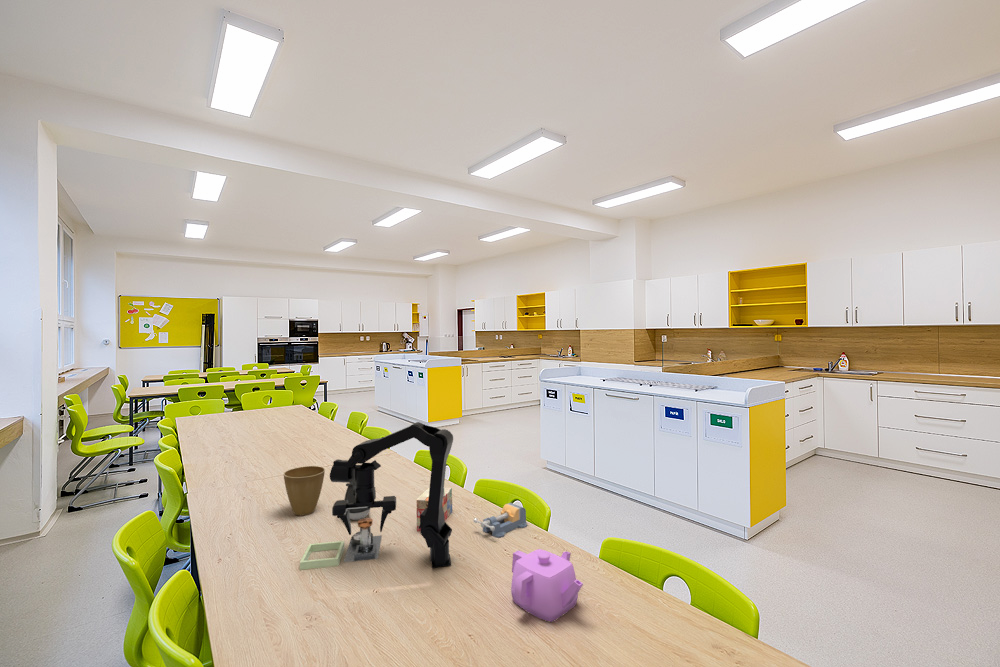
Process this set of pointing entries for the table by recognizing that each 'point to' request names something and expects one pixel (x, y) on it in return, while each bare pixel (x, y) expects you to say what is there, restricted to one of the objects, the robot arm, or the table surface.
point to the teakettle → (544, 583)
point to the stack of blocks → (423, 504)
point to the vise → (505, 520)
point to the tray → (322, 562)
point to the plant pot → (304, 488)
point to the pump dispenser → (354, 513)
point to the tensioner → (354, 549)
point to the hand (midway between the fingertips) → (365, 532)
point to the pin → (365, 534)
